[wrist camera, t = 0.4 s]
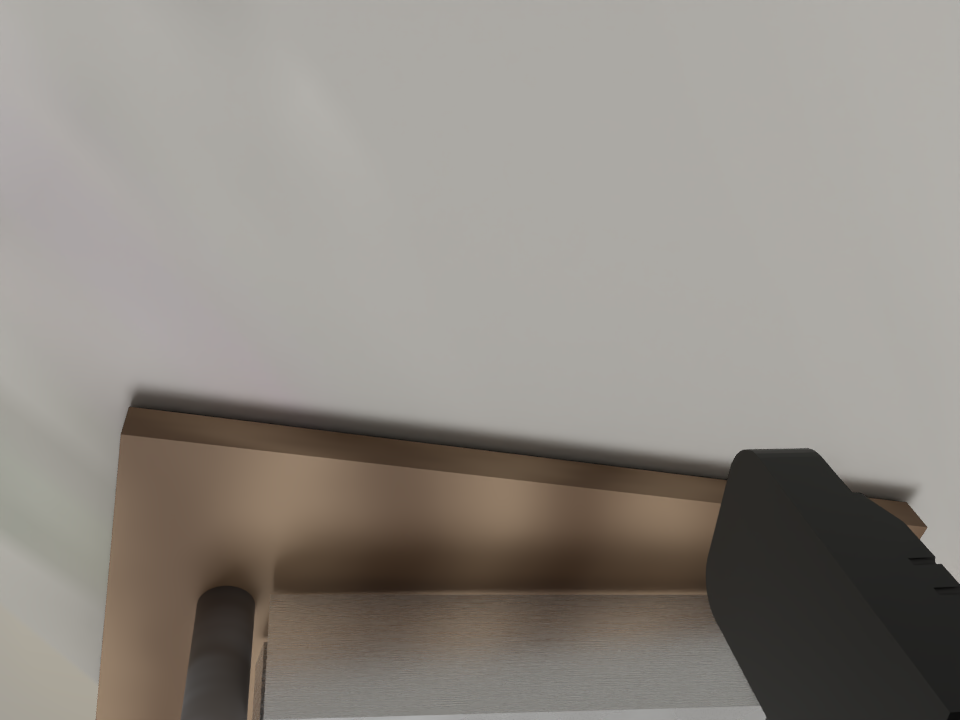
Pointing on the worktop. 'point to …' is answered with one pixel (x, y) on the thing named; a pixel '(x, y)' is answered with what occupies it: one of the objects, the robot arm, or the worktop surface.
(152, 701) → the tong rest
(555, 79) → the worktop surface
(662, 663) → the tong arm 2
